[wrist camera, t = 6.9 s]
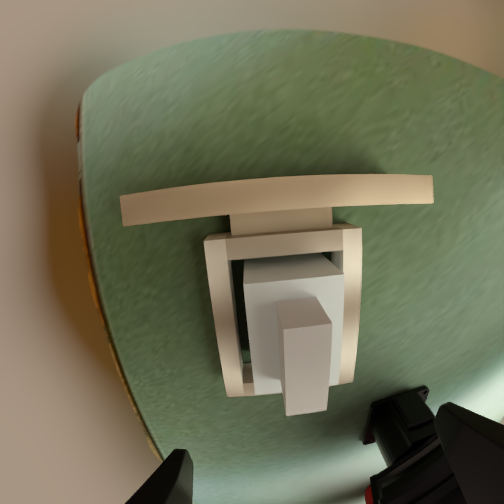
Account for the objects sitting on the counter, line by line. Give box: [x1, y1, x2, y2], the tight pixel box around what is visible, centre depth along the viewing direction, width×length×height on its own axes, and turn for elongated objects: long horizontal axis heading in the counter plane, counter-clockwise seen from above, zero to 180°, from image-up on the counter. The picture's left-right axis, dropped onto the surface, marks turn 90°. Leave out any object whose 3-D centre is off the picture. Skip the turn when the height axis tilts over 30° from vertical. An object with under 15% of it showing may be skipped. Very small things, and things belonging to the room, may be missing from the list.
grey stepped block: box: [243, 253, 344, 416], centre depth 15 cm, size 7×5×8 cm
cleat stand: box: [120, 174, 433, 397], centre depth 16 cm, size 14×16×5 cm
